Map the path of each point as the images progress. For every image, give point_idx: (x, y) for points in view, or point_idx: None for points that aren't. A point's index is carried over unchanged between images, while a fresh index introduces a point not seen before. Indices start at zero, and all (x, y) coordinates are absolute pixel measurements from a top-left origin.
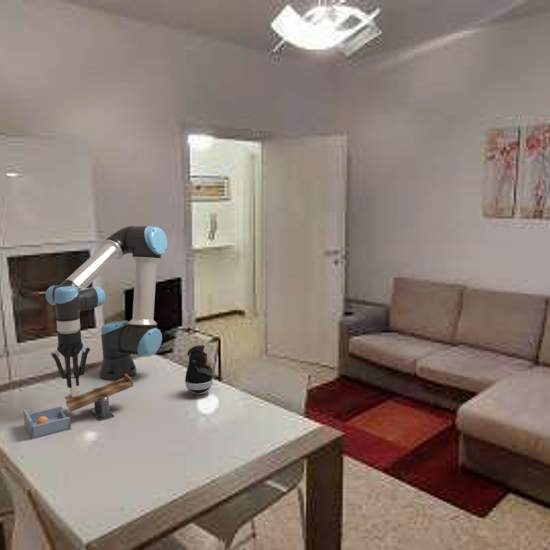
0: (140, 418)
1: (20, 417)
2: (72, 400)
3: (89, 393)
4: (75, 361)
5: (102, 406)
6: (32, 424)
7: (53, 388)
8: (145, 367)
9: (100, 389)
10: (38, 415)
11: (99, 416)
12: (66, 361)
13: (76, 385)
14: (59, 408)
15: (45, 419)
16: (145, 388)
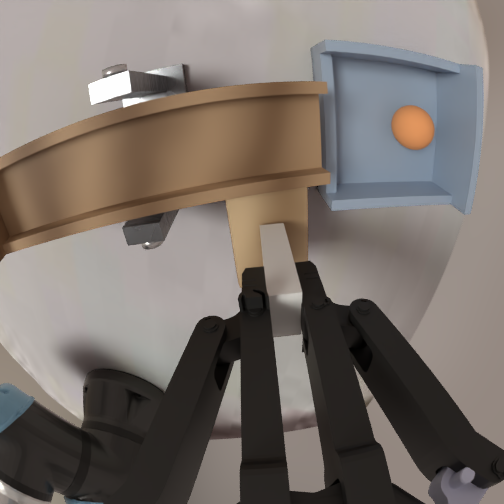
0: (48, 43)
1: (419, 258)
2: (294, 173)
3: (190, 191)
4: (268, 438)
5: (146, 74)
6: (466, 65)
7: (285, 390)
8: (75, 389)
9: (123, 205)
10: (413, 190)
11: (176, 93)
12: (374, 438)
13: (259, 270)
14: (341, 197)
15: (412, 113)
16: (39, 289)
